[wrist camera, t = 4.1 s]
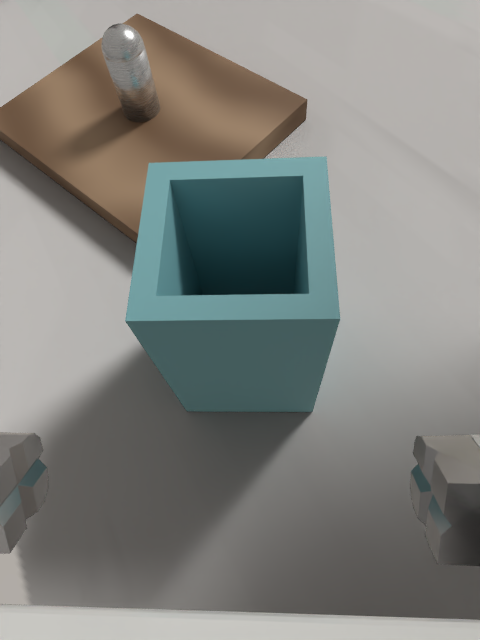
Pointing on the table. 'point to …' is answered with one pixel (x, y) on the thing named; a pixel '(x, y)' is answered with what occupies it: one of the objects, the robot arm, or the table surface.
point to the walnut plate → (144, 137)
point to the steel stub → (130, 72)
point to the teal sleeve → (237, 282)
